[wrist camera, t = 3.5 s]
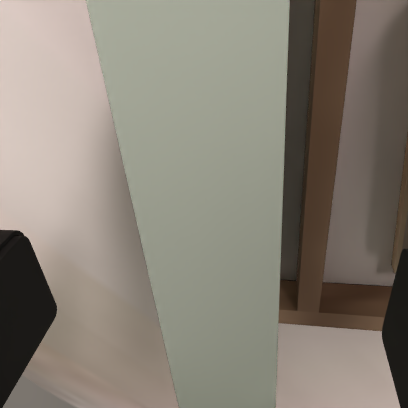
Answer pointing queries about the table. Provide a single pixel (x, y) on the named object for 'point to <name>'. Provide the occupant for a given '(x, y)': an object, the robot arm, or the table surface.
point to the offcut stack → (402, 216)
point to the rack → (326, 188)
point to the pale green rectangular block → (205, 179)
